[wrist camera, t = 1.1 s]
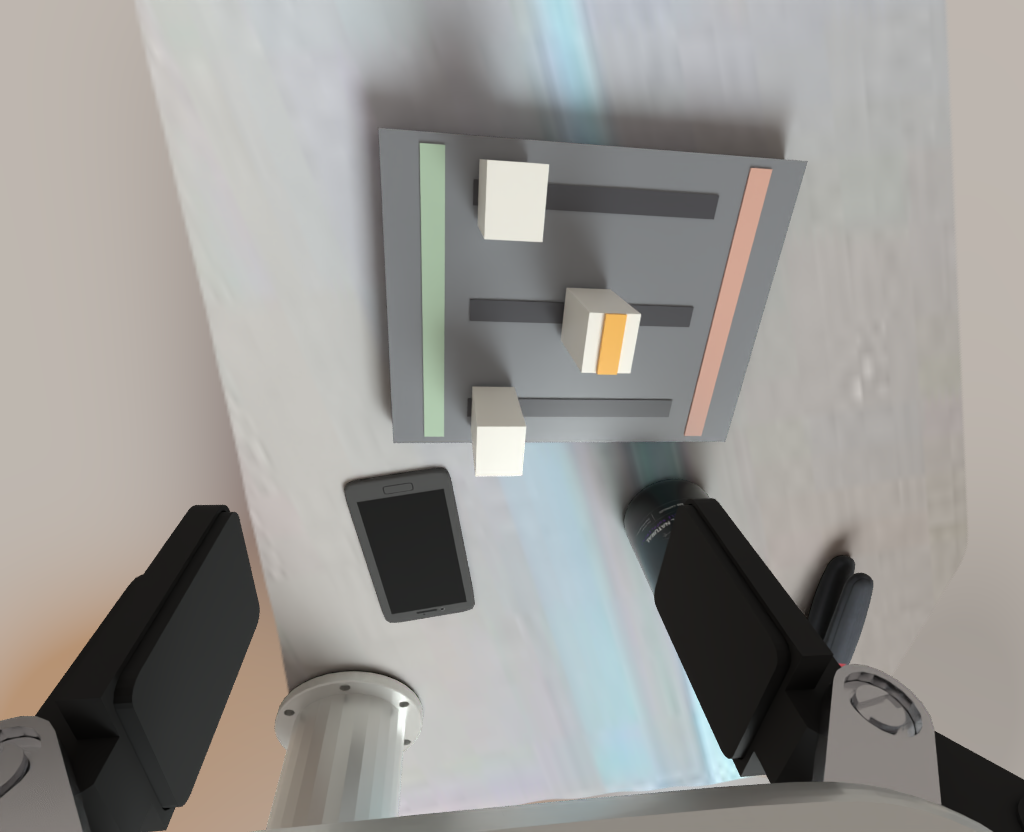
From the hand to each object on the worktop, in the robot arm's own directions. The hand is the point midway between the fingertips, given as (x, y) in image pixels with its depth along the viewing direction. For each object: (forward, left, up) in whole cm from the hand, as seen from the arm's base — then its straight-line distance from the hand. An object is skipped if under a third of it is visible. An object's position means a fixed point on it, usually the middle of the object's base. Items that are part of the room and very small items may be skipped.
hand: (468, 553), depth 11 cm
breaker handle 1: (+6, -2, -19) cm, 20 cm away
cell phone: (-19, +3, -22) cm, 29 cm away
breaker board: (0, -7, -21) cm, 23 cm away
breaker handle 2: (-6, -2, -19) cm, 20 cm away
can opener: (-29, -33, -22) cm, 49 cm away
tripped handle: (0, -7, -19) cm, 20 cm away
